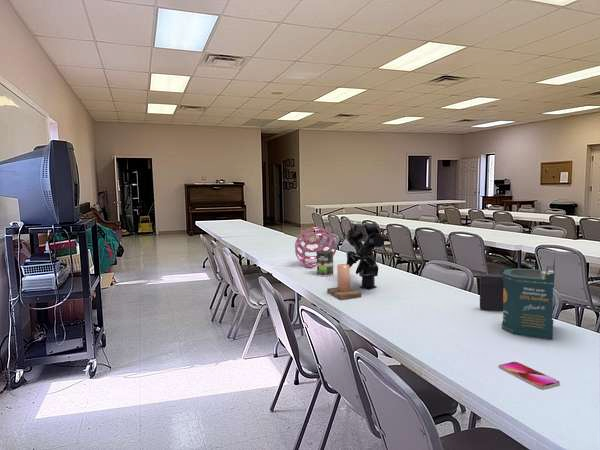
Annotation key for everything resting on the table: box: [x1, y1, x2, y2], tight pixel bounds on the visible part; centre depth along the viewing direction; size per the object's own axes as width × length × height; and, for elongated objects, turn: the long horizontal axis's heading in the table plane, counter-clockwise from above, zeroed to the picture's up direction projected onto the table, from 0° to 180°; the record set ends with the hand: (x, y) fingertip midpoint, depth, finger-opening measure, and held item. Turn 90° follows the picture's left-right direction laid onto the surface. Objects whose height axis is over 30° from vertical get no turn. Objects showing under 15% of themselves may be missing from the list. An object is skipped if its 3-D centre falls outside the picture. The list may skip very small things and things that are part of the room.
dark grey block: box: [479, 273, 504, 313], centre depth 174 cm, size 11×4×15 cm, turn 71°
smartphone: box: [498, 361, 561, 390], centre depth 117 cm, size 7×1×15 cm
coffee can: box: [315, 250, 334, 277], centre depth 253 cm, size 10×10×14 cm
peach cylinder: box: [337, 263, 351, 292], centre depth 206 cm, size 6×6×13 cm
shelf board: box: [326, 286, 362, 301], centre depth 206 cm, size 16×11×2 cm
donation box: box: [501, 252, 556, 341], centre depth 150 cm, size 16×16×28 cm
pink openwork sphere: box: [294, 226, 338, 269], centre depth 277 cm, size 28×28×27 cm
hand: (351, 271), depth 208 cm, fingers open, 9 cm apart
